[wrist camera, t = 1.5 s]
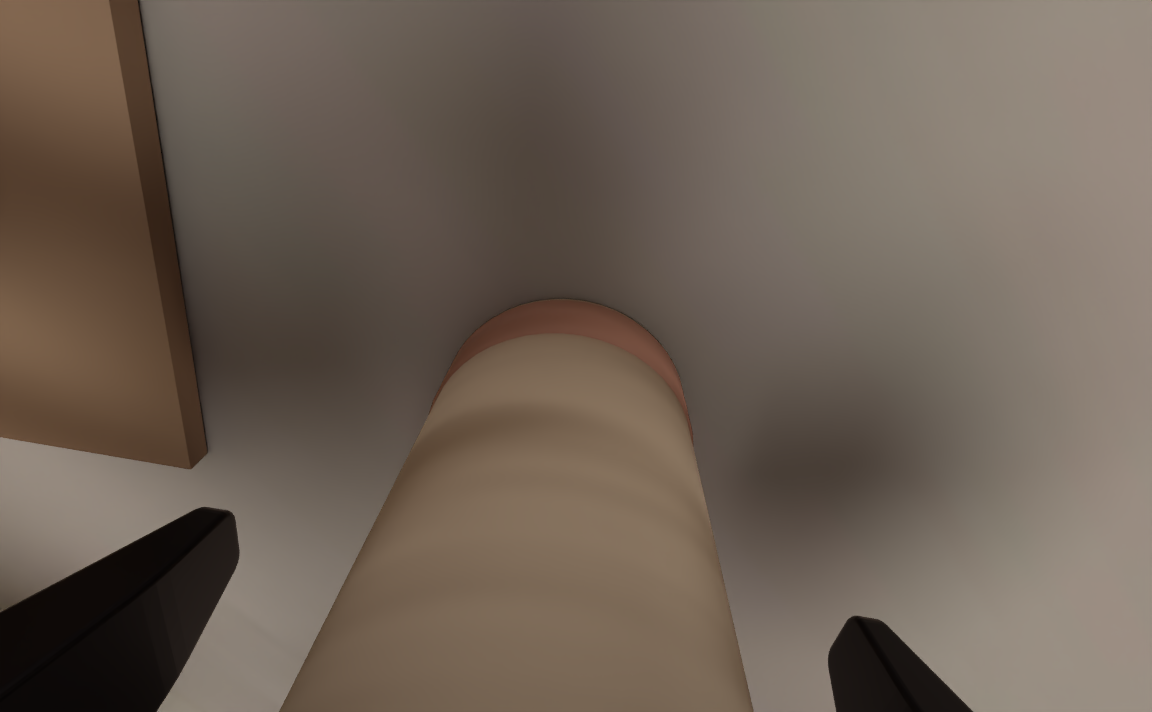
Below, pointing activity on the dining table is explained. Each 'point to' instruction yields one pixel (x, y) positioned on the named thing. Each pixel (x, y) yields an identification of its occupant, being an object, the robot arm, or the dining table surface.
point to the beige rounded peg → (539, 541)
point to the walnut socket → (88, 242)
